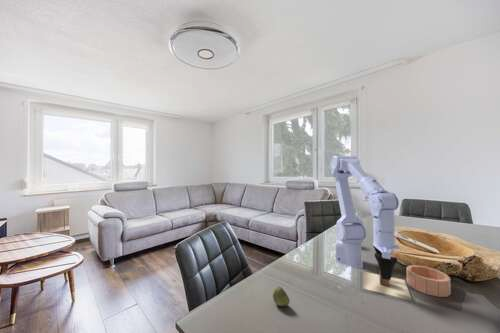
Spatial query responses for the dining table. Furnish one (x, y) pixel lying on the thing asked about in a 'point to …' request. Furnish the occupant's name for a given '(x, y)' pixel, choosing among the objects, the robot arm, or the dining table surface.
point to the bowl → (428, 280)
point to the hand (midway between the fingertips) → (384, 273)
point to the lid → (386, 286)
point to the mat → (387, 296)
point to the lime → (280, 297)
